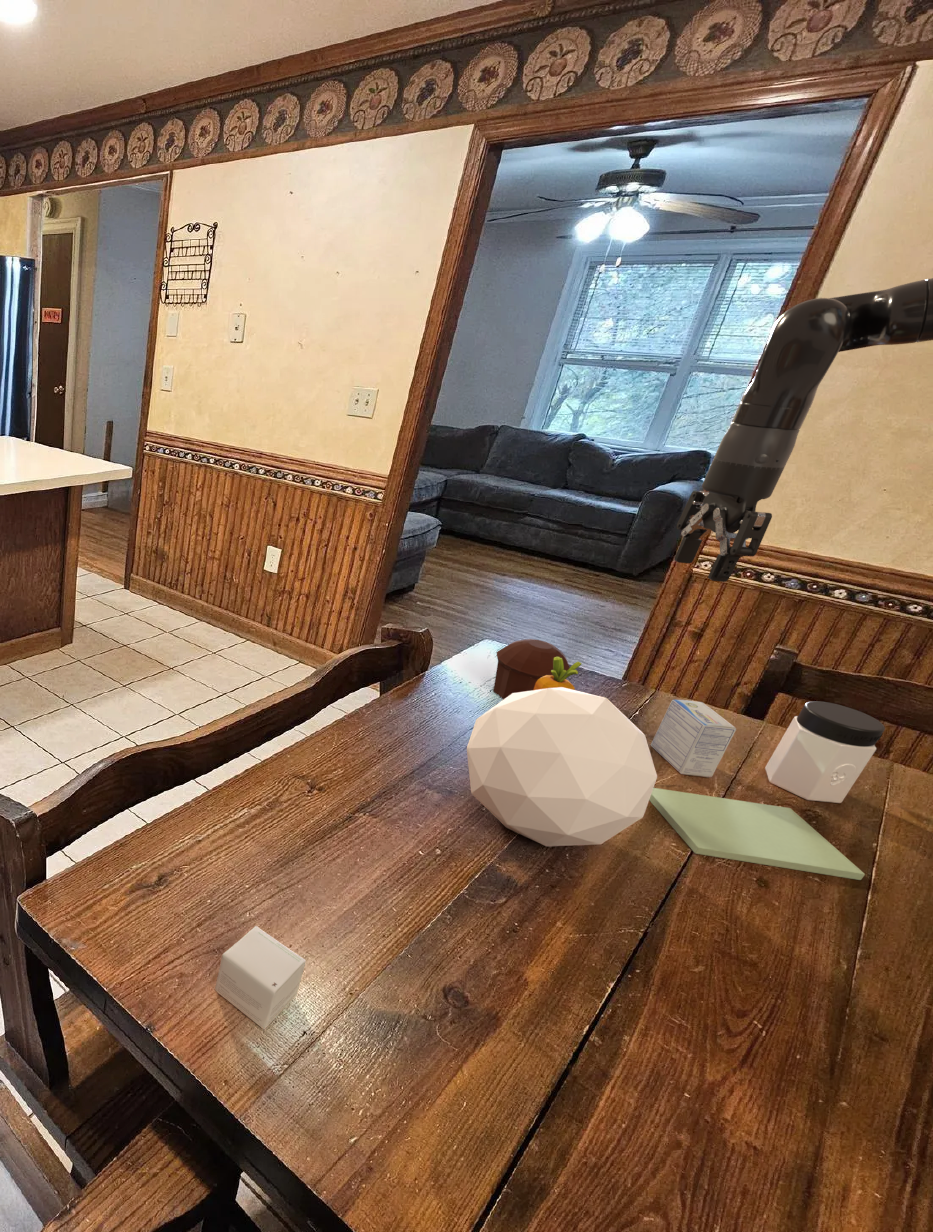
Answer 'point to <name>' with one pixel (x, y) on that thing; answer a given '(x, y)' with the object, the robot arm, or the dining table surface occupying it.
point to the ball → (560, 766)
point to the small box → (259, 976)
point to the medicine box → (693, 738)
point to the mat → (750, 833)
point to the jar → (824, 751)
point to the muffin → (524, 665)
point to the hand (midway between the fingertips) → (698, 571)
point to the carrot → (557, 676)
